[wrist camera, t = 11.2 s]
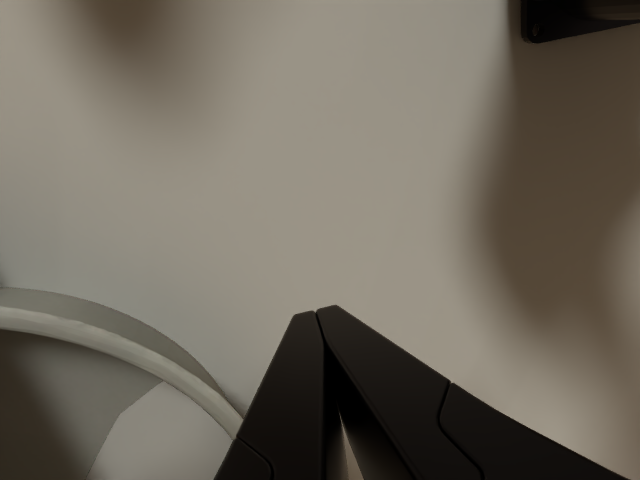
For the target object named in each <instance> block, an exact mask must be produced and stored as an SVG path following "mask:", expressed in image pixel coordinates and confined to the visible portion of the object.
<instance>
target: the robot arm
mask: <svg viewBox="0 0 640 480" xmlns="http://www.w3.org/2000/svg"><path fill="white" fill-rule="evenodd" d="M635 23H640V0H521V35H522V38H523V40H524V41H525V42H527V43H543V42H548V41H553V40H557V39H562V38H567V37H572V36H577V35H582V34H587V33H591V32H596V31H601V30H606V29H611V28H616V27H621V26H625V25H630V24H635ZM535 24H537V25H538V27H539V30H538V33H537V34H536V35H535V36H534V35H533V32H532V30H533V27H534V26H535ZM339 413H340V414H339ZM340 417H341V419H340ZM341 420H342V424H343V427H344V429H345V432H346V435H347V438H348V440H349V443H350V445H351V448H352V450H353V453H354V455H355V458H356V460H357V463H358V466H359V468H360V471H361V473H362V476H363V478H364V480H630V479H628V478H625V477H623V476H621V475H619V474H617V473H615V472H613V471H611V470H609V469H607V468H605V467H603V466H601V465H599V464H597V463H595V462H593V461H591V460H590V459H588V458H586V457H584V456H582V455H580V454H578V453H576V452H574V451H572V450H570V449H568V448H567V447H565V446H563V445H561V444H559V443H557V442H555V441H553V440H551V439H549V438H547V437H545V436H544V435H542V434H540V433H538V432H536V431H534V430H532V429H530V428H528V427H526V426H525V425H523V424H521V423H519V422H517V421H516V420H514V419H512V418H510V417H508V416H506V415H505V414H503V413H501V412H499V411H497V410H496V409H494V408H492V407H491V406H489V405H488V404H486V403H484V402H483V401H481V400H480V399H478V398H476V397H475V396H473V395H472V394H470V393H468V392H467V391H465V390H464V389H462V388H461V387H459V386H458V385H456V384H455V383H451V381H450V380H449V379H447V378H446V377H444V376H443V375H441V374H440V373H438V372H437V371H435V370H434V369H432V368H431V367H429V366H428V365H426V364H425V363H423V362H422V361H420V360H419V359H417V358H416V357H414V356H413V355H411V354H410V353H408V352H407V351H405V350H404V349H402V348H401V347H399V346H398V345H396V344H395V343H393V342H392V341H390V340H389V339H387V338H386V337H384V336H383V335H381V334H380V333H378V332H377V331H375V330H374V329H372V328H371V327H369V326H368V325H366V324H365V323H363V322H362V321H360V320H359V319H357V318H356V317H354V316H353V315H351V314H350V313H348V312H347V311H345V310H344V309H342V308H341V307H339V306H337V305H332V306H328V307H324V308H320V309H318V310H317V311H316V313H315V312H314V311H307V312H303V313H299V314H295V315H294V316H293V317H292V319H291V321H290V323H289V326H288V328H287V330H286V332H285V334H284V336H283V338H282V340H281V342H280V344H279V346H278V349H277V351H276V353H275V355H274V357H273V359H272V361H271V363H270V365H269V367H268V369H267V371H266V374H265V376H264V378H263V380H262V382H261V384H260V386H259V388H258V390H257V392H256V394H255V397H254V399H253V401H252V403H251V405H250V407H249V409H248V411H247V413H246V415H245V417H244V419H243V422H242V424H241V426H240V428H239V430H238V432H237V434H236V438H235V439H234V440H233V442H232V444H231V446H230V448H229V450H228V452H227V455H226V457H225V459H224V460H223V462H222V464H221V466H220V468H219V470H218V472H217V474H216V476H215V478H214V480H349V478H348V470H347V461H346V453H345V444H344V436H343V429H342V424H341Z"/></svg>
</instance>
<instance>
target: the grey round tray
mask: <svg viewBox="0 0 640 480" xmlns="http://www.w3.org/2000/svg"><path fill="white" fill-rule="evenodd" d="M162 381H165V382H167V383H168V384H170V385H172V386H173V387H175V388H176V389H178V390H179V391H181V392H182V393H184V394H185V395H187V396H188V397H190V398H191V399H192V400H193V401H195V402H196V403H197V404H198V405H199V406H201V407H202V408H203V409H204V410H205V411H206V412H207V413H208V414H210V415H211V416H212V417H213V418H214V419H215V420H216V421H217V422H218V423H219V425H220V426H221V427H222V428H223V429H224V430H225V431H226V432H227V433H228V435H229V436H230V437H231V439H232V440H234V439H235V438H236V434H237V432H238V430H239V428H240V426H241V424H242V422H243V419H242V417H241V416H240V415H239V414H238V413H237V412H236V411H235V409H234V408H233V407H232V406H231V405H230V404H229V403H228V401H227V399H226V397H225V395H224V394H223V392H222V390H221V389H220V387H219V386H218V385H217V383H216V382H215V380H214V379H213V378H212V376H211V375H210V374H209V373H208V372H207V371H206V369H205V368H204V367H203V366H202V365H201V364H200V363H199V362H198V361H197V360H196V359H195V358H194V357H193V356H192V355H191V354H189V353H188V352H187V351H186V350H184V349H183V348H182V347H180V346H179V345H178V344H177V343H175V342H174V341H173V340H171V339H170V338H168V337H167V336H165V335H164V334H162V333H161V332H159V331H157V330H156V329H154V328H152V327H151V326H149V325H147V324H145V323H143V322H141V321H139V320H137V319H135V318H133V317H131V316H129V315H127V314H124V313H122V312H119V311H117V310H114V309H112V308H109V307H106V306H103V305H100V304H97V303H94V302H91V301H88V300H84V299H80V298H76V297H72V296H68V295H63V294H58V293H52V292H46V291H40V290H31V289H20V288H0V480H85V478H86V476H87V474H88V473H89V471H90V469H91V467H92V465H93V463H94V461H95V459H96V457H97V455H98V453H99V451H100V449H101V447H102V445H103V443H104V442H105V440H106V438H107V436H108V434H109V432H110V430H111V428H112V426H113V424H114V423H115V421H116V420H117V418H118V416H119V415H120V414H121V413H122V412H123V411H124V410H126V409H127V408H128V407H129V406H131V405H132V404H133V403H135V402H136V401H137V400H138V399H140V398H141V397H142V396H143V395H145V394H146V393H147V392H149V391H150V390H151V389H152V388H154V387H155V386H156V385H157V384H159V383H160V382H162Z"/></svg>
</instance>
